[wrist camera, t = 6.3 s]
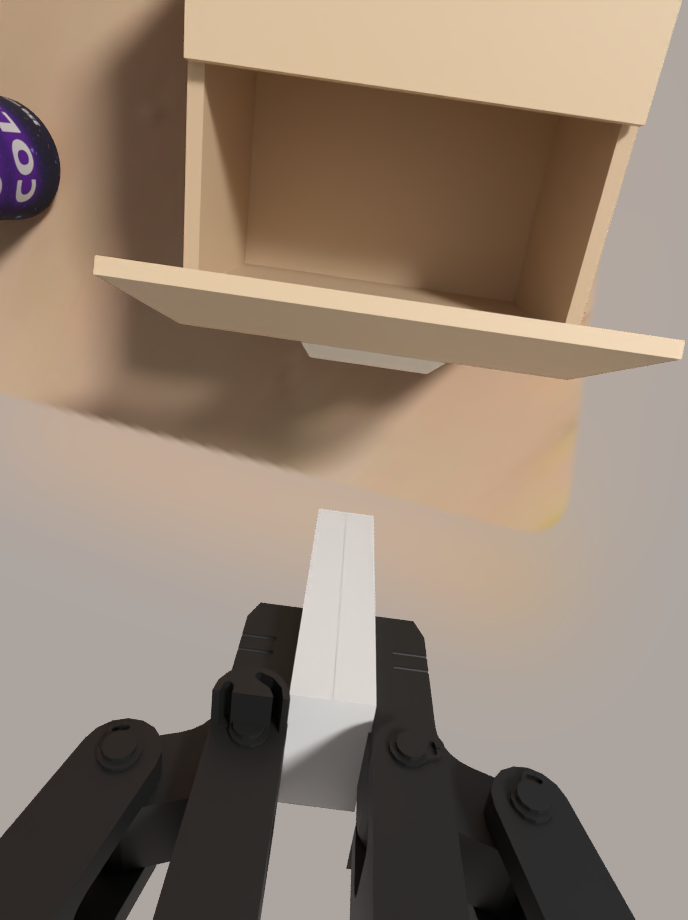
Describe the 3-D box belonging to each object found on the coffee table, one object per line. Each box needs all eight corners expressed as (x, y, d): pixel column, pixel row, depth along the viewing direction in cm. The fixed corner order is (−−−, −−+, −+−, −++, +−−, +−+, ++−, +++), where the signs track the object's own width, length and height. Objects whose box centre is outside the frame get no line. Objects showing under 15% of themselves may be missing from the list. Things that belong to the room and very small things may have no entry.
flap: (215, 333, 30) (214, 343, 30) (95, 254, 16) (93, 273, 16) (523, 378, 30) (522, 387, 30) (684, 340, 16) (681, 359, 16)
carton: (235, 273, 33) (182, 300, 24) (256, -98, 27) (194, -249, 18) (518, 314, 33) (571, 356, 24) (608, -45, 27) (725, -170, 18)
